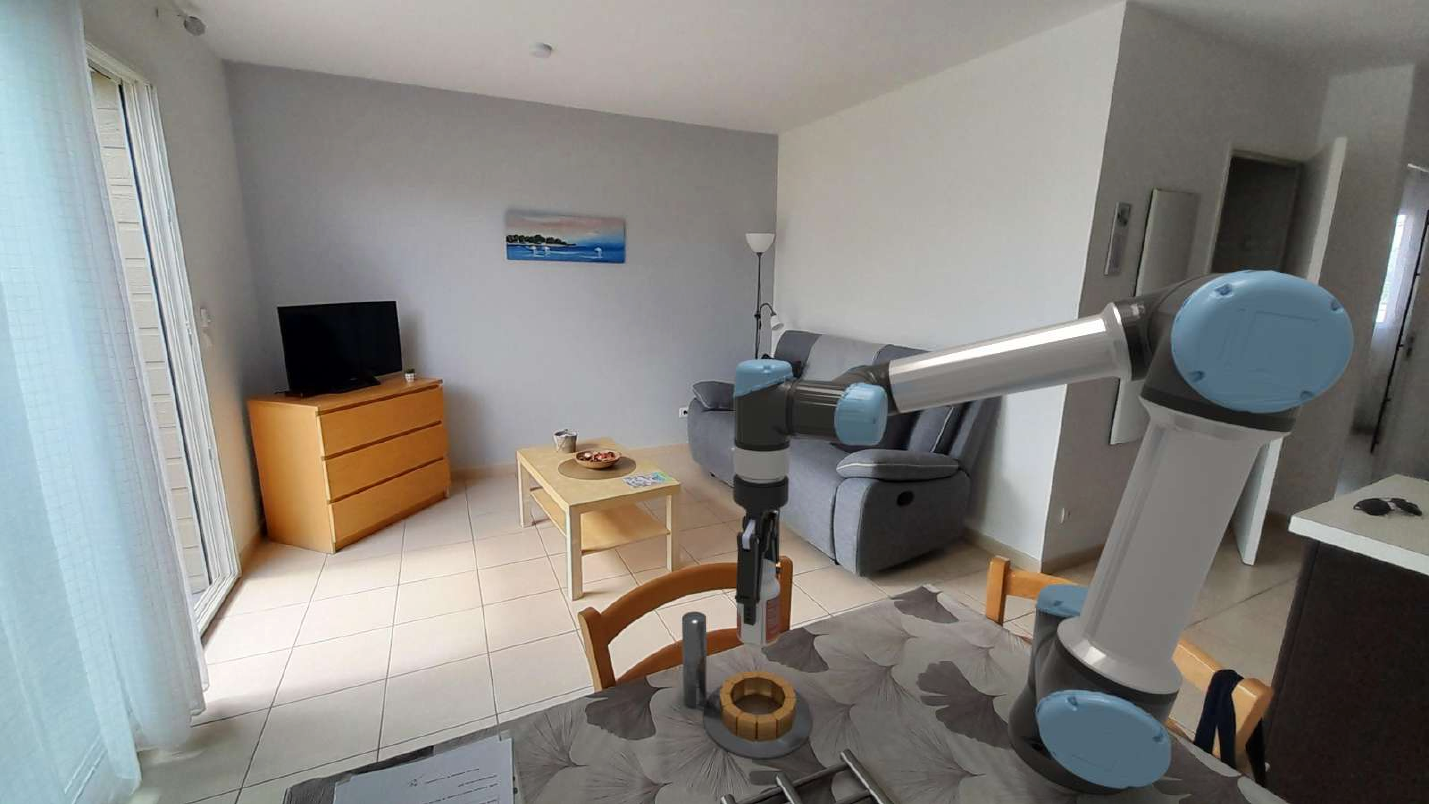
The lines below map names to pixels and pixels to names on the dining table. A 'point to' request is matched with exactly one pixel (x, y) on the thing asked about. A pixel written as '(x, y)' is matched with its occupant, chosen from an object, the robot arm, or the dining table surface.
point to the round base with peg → (743, 703)
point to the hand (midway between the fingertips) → (758, 627)
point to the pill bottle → (766, 607)
